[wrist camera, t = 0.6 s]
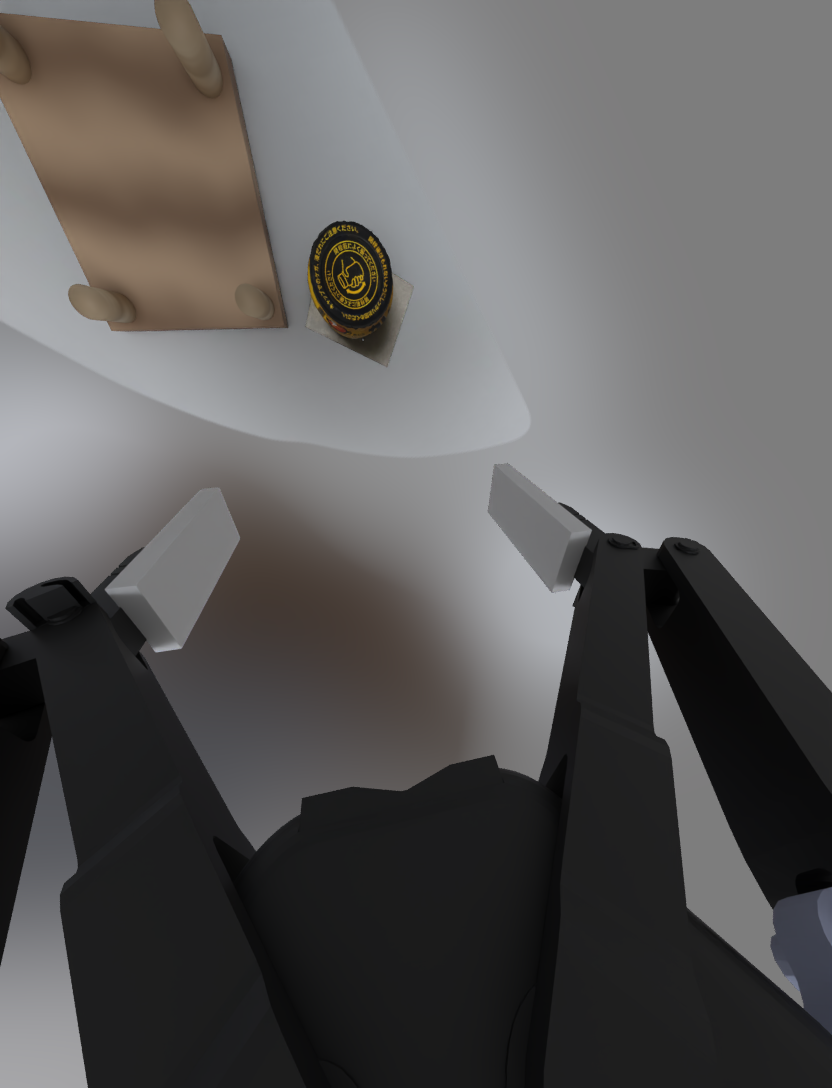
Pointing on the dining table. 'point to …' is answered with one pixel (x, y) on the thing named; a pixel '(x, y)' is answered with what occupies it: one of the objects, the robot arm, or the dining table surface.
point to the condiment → (355, 291)
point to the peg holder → (145, 168)
